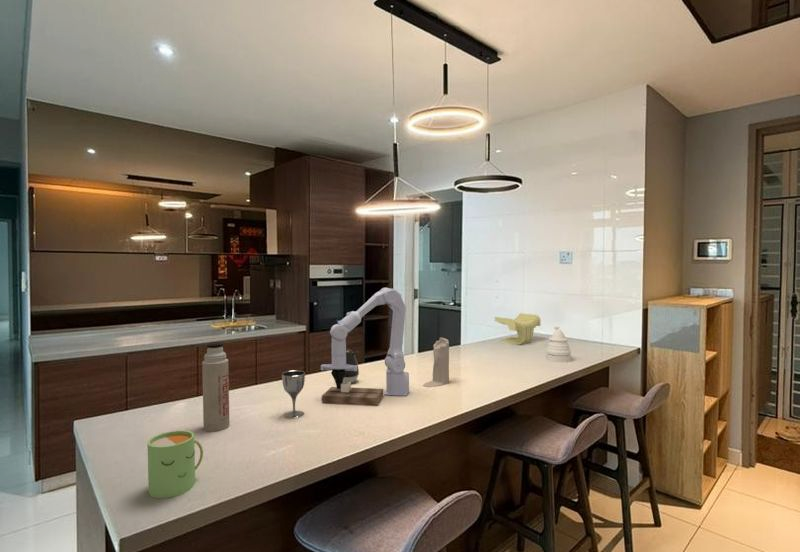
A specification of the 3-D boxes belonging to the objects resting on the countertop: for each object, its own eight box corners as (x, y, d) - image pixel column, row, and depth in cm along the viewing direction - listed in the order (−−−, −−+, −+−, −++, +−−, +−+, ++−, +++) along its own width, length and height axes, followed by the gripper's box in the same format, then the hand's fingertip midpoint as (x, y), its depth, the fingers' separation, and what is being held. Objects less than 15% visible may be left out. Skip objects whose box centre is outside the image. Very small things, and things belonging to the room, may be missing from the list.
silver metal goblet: (285, 419, 150) (284, 377, 150) (280, 412, 157) (279, 372, 157) (307, 415, 154) (307, 374, 153) (302, 409, 161) (301, 369, 160)
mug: (158, 503, 98) (157, 451, 98) (142, 487, 105) (141, 439, 105) (212, 482, 108) (211, 434, 107) (195, 469, 115) (194, 424, 114)
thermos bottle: (234, 425, 145) (233, 343, 144) (213, 433, 139) (211, 347, 138) (219, 420, 150) (218, 340, 149) (198, 428, 143) (196, 344, 142)
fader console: (383, 396, 176) (383, 388, 176) (377, 405, 164) (377, 397, 164) (331, 393, 179) (331, 386, 179) (322, 403, 168) (321, 395, 167)
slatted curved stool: (515, 347, 275) (515, 319, 274) (494, 343, 287) (494, 316, 286) (540, 341, 295) (540, 315, 294) (520, 338, 307) (520, 313, 306)
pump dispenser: (355, 385, 191) (355, 351, 190) (333, 384, 193) (332, 351, 192) (362, 379, 201) (361, 347, 200) (340, 378, 203) (340, 346, 202)
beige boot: (419, 384, 192) (419, 340, 191) (440, 379, 201) (440, 336, 200) (430, 388, 186) (430, 342, 186) (452, 382, 196) (452, 338, 195)
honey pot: (542, 357, 245) (542, 326, 244) (563, 356, 246) (563, 325, 246) (552, 362, 232) (552, 329, 232) (575, 362, 234) (575, 329, 233)
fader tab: (350, 389, 174) (350, 381, 174) (348, 392, 170) (348, 384, 170) (343, 389, 174) (343, 381, 174) (340, 392, 170) (340, 383, 170)
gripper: (358, 352, 175) (359, 385, 175) (324, 351, 177) (325, 384, 178) (354, 356, 168) (354, 391, 168) (318, 355, 170) (319, 389, 171)
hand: (339, 388), depth 173 cm, fingers closed
